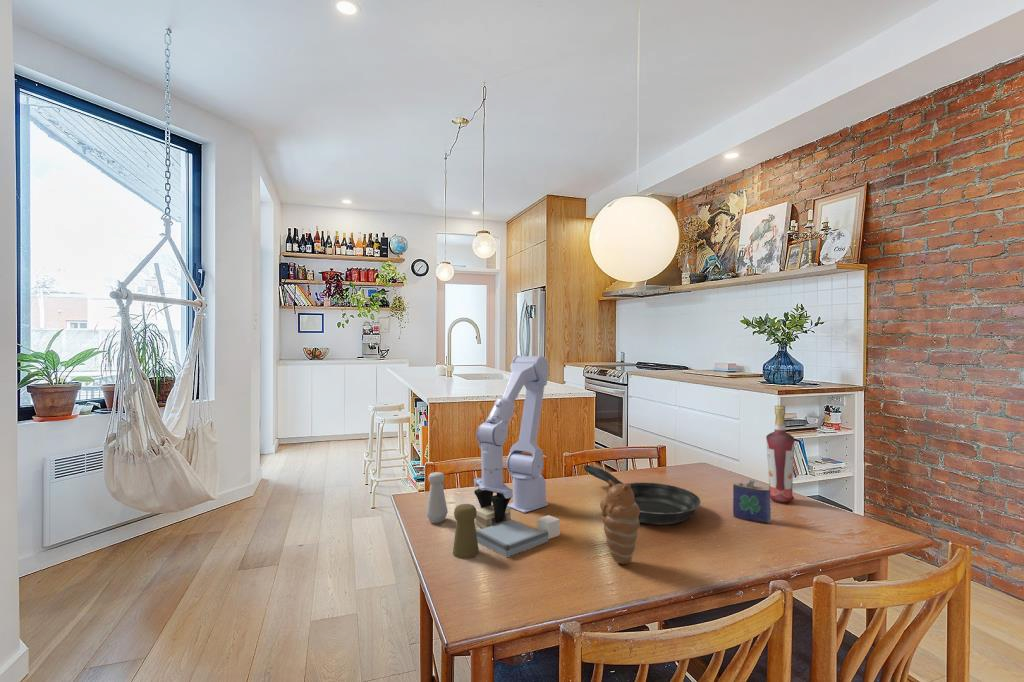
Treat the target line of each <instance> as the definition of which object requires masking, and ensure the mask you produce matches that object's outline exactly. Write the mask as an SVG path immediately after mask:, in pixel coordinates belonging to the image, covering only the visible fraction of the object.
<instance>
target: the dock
mask: <svg viewBox="0 0 1024 682" xmlns="http://www.w3.org/2000/svg"><path fill="white" fill-rule="evenodd" d="M476 535H477V542H478V544H480V545H482V546H484V547H486V548H487V549H489V550H491V549H492V550H491V551H493V550H494V552H495V551H496V552H495V553H497V552H498V553H497V554H499V553H500V554H499V555H501V554H502V555H501V556H503V557H505V556H506V557H507V558H509V557H508V556H510V557H512V556H514V555H513V554H515V555H517V554H520V553H522V552H521V551H523V552H525V551H527V550H526V549H528V550H530V549H533V548H535V547H538V546H541V545H543V544H546V543H548V542H549V539H548V531H546V530H545V531H543V532H539V531H537V529H535V528H532V527H529V526H527V525H525V524H523V523H521V522H518V521H516V520H514V519H511V520H508V521H505V522H501V523H499V524H496V525H492V526H490V527H487V528H484V529H483V528H481V529H477V528H476ZM545 542H546V543H545ZM542 543H543V544H542ZM540 544H541V545H540ZM537 545H538V546H537ZM534 546H535V547H534ZM532 547H533V548H532ZM529 548H530V549H529ZM524 550H525V551H524ZM519 552H520V553H519ZM516 553H517V554H516ZM511 555H512V556H511ZM506 557H505V558H506Z"/></svg>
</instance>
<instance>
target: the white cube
mask: <svg viewBox="0 0 1024 682" xmlns="http://www.w3.org/2000/svg"><path fill="white" fill-rule="evenodd" d="M560 520H561V519H559V518H557V517H555V516H551V515H549V514H548V515H545V516H541V517H539V518H537V519H536V530H537V531H539V532H543V531H545V530H546V531H548V540H550V538H551V539H553V538H555V537H558V536H560V535H561V530H560V529H561V527H560V525H561V523H560Z"/></svg>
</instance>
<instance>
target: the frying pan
mask: <svg viewBox="0 0 1024 682" xmlns="http://www.w3.org/2000/svg"><path fill="white" fill-rule="evenodd" d="M583 468H584V471H586V472H587V473H588V474H589V475H591V476H593V477H594V478H597V479H599V480H601V481H604V482H605V483H607V484H608V485H609V480H611V481H613V482H614V483H615V484H625V485H627V484H631V490H632V491H633V494H634V500H635V502H636V503H637V505H638V507H639V509H640V514H639V516H638V519H639V523H641V524H642V523H643V524H647V525H657V526H658V525H660V526H661V525H673V524H677V523H682V522H685V521H686V520H688V519H689V518H690V517H692V516H693V515H694V514H695V512H696V510H697V508H698V507H700V505H701V498H700V497H699V496H698V495H697V494H695V492H692V491H690V490H688V489H685V488H681V487H678V486H674V485H671V484H663V483H659V482H658V483H657V482H656V483H655V482H629V483H623V482H622V481H620V480H619V479H618V478H617V477H615V476H614V475H613V474H611V473H609V472H608V471H606V470H604V469H602V468H600V467H597V466H593V465H588V464H586V465H583ZM608 491H609V489H608V490H607V492H606V494H607V493H608Z"/></svg>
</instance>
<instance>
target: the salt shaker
mask: <svg viewBox="0 0 1024 682" xmlns="http://www.w3.org/2000/svg"><path fill="white" fill-rule="evenodd" d="M427 477H428V482H429V483H430V485H429V490H428V491H429V492H428V498H427V504H426V511H425V512H426V513H425V514H426V517H427V518H428V520H429V522H430V523H431V524H441V523H444V522H445V520H446V517H447V515H448V512H449V511H448V506H447V500H446V496H445V491H444V486H443V482H444V481H445V474H444V473H443V472H440V471H436V472H435V471H433V472H431V473H429V474H428V476H427Z"/></svg>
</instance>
